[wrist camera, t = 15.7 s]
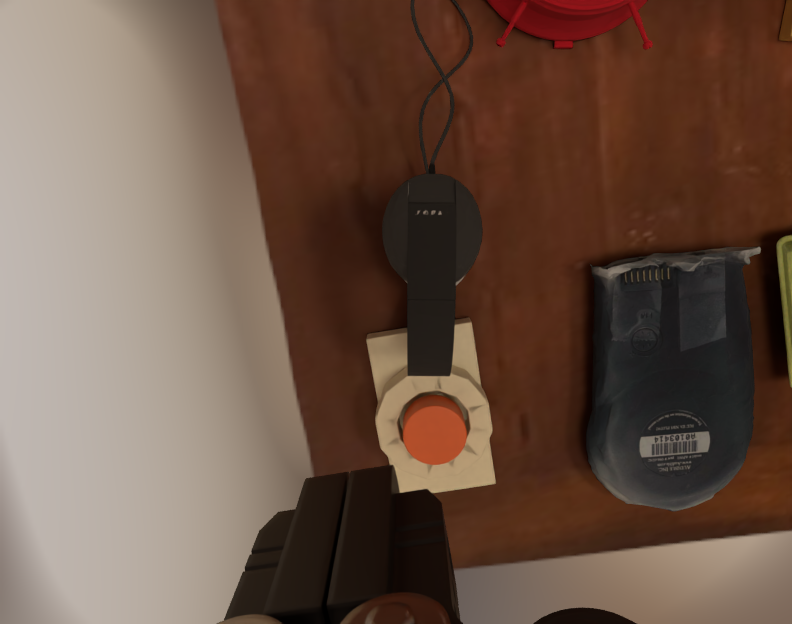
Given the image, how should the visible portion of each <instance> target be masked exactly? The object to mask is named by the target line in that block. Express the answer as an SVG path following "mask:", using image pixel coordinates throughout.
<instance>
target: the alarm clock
mask: <svg viewBox="0 0 792 624" xmlns="http://www.w3.org/2000/svg"><path fill="white" fill-rule="evenodd" d="M487 1H488V2H489V4H490V5H491V6H492V7H493V8H494V10H495V11H496V12H497V13H498V14H499V15H500V16H501V17H502V18H504V19H505V20H506V21H507V22H509V23H510V24H509V25H508V27H507V29H506V31H505V32H504V34H503V36H502V37H501V38H498V39H497V41H496V44H497V45H498V46H499V47H503V46H504V45H505V43H506V42H505V39H506V38H507V36H508V34H509V33H510V31H511V30H512V28H513V27H514V26H515V27H516V28H518V29H519V30H522V31H524V32H526V33H528V34H530V35H533V36H536V37H539V38H543V39H548V40H555V46H554V48H553V49H571V48H573V41H575V40H582V39H586V38H591V37H594V36H597V35H600V34H602V33H605V32H607V31H609V30H611V29H613V28H615V27H616V26H618V25H620V24H621V23H623V22H624V21H625V20H627V19H628V18H630V17H631V16H633V19H634V21H635V23H636V25H637V26H638V29H639V31H640V34H641V36H642V38H643V41H644V44H643V48H644V49H645V50H646V49H648V48H650V47H652V45H653V43H652V41H649V40H648V38H647V35H646V33H645V30H644V27H643V25H642V20H641V17H640V15H639V12H638V10H639V9H640V8H641V7H642V6H643V5H644V4H645V3H646V2H647V1H648V0H487Z"/></svg>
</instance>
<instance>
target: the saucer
mask: <svg viewBox="0 0 792 624" xmlns="http://www.w3.org/2000/svg"><path fill="white" fill-rule="evenodd" d="M776 252H777V261H778V272H779V282H780V292H781V302H782V312H783V322H784V332H785V343H786V353H787V364H788V375H789V383H790V386H791V387H792V235H790V236H785V237H782V238H781V239H779V240H778V242H777V245H776Z"/></svg>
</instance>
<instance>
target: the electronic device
mask: <svg viewBox="0 0 792 624" xmlns="http://www.w3.org/2000/svg"><path fill="white" fill-rule="evenodd" d="M760 251H761V249H760V247H726V248H721V249H709V250H701V251H694V252H684V253H673V254H669V253H653V254H652V255H650V256H644V257H635V258H627V259H623V260H618V261H615V262H612V263H610V264H609V265H606V266H603V267H599V266H592V265H591V264H590V265H591V269H592V276H593V278H594V333H593V335H592V337H593V387H592V413H591V415H590V419H589V422H588V425H587V433H586V449H587V454H588V462H589V463H590V465H591V469H592V471H593V473H594V474H595V475H596V478H597V479H598V480H599V481H600V482H601V483H602V484H603V485H604V486H605V488H606V489H607V490H609V491H610V492H611V493H612V494H613V495H614V496H615V497H617V498H619V499H620V500H623V501H625V503H626V504H629V503H630V504H637V505H646V506H651V507H657V508H663V509H667V510H670V511H678V510H682V509H685V508H689V507H693V506H695V505H698V504H700V503H702V502H704V501H707V500H709V499H711V498H713V496H714V494H715V493H717V492H718V491H719V490H721V489H722V488H724V487H725V486H726V485H727V484H728V483H729V482H730V481H731V480H732V479H733V477H734V476H735V475H736V474H737V472H738V471H739V470H740V468H741V467H742V465H743V463H744V461H745V458H746V453H747V449H748V446H749V442H750V440H751V437H752V430H753V419H754V417H753V408H754V400H753V396H754V391H755V390H754V368H753V350H752V339H751V334H752V332H751V323H750V310H749V307H748V304H747V296H746V288H745V282H744V276H743V271H742V268H743V266H744V265H747V264H750V259H749V257H751V256H753V255H755V254H759V253H760Z"/></svg>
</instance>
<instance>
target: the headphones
mask: <svg viewBox="0 0 792 624" xmlns="http://www.w3.org/2000/svg"><path fill="white" fill-rule="evenodd" d="M452 1H453V3H454V4H455V5H456V7H457V8H458V10H459V11H460V13H461V15H462V17H463V18H464V20H465V22H466V25H467V28H468V31H469V35H470V45H469V49H468V51H467V53H466V55H465V57H464V58H463V59H462V60H461V61H460V62H459V63H458V64H457V65H456V66H455V67H454V68H453V69H452V70H451V71H450V72H449V73H448V74H447V75H446V76H445V75H444V73H443V71H442V69H441V68H440V66H439V65H438V63H437V61H436V60H435V58H434V57H433V55H432V53H431V52H430V50H429V48H428V47H427V45H426V43H425V41H424V39H423V37H422V35H421V33H420V31H419V28H418V25H417V21H416V18H415V10H414V0H411V15H412V20H413V24H414V27H415V30H416V33H417V35H418V37H419V39H420V41H421V43H422V45H423V46H424V48H425V50H426V52H427V53H428V55H429V57H430V58H431V60H432V62H433V63H434V65H435V66H436V68H437V70H438V71H439V73H440V75H441V77H442V79H441V80H440V81H439V82H438V83H437V84H436V85H435V86H434V88H433V89H432V90H431V91H430V93H429V94H428V96H427V98H426V100H425V101H424V104H423V106H422V109H421V113H420V118H419V138H420V146H421V151H422V156H423V160H424V165H425V170H426V174H422V175H418V176H415V177H413V178H411V179H409V180H407V181H406V182H404V183H403V184H402V185H401V186H400V187H399V188H398V189H397V190H396V191H395V193H394V194H393V195H392V197H391V199H390V201H389V203H388V205H387V207H386V211H385V214H384V218H383V224H382V236H383V244H384V248H385V252H386V255H387V258H388V260H389V262H390V264H391V266H392V267H393V268H394V270H395V271H396V273H397V274H398V275H399V276H400V277H401V278H403V279H404V280H405V281H406V282H407V373H408V376H450V374H451V369H452V360H453V347H454V328H455V300H456V285H457V284H458V283H459V282H460V281H461V280H462V279H463V278H464V276H465V275H466V274H467V273H468V271H469V270H470V268H471V267H472V265H473V264H474V262H475V260H476V257H477V255H478V253H479V249H480V245H481V241H482V221H481V216H480V212H479V209H478V205H477V203H476V201H475V199H474V197H473V196H472V194H471V193H470V192H469V190H468V189H467V188H466V187H465V186H464V185H462V184H461V183H460V182H459V181H457V180H456V179H454V178H452V177H450V176H446V175H443V174H435V165H434V162H435V159H436V156H437V153H438V151H439V149H440V147H441V145H442V143H443V141H444V138H445V136H446V134H447V132H448V130H449V127H450V124H451V122H452V118H453V113H454V97H453V93H452V90H451V87H450V85H449V82H448V80H447V79H448V78H449V77H450V76H451V75H452V74H453V73H454V72H455V71H456V70H457V69H458V68H459V67H460V66H462V64H463V63H464V62H465V61H466V59H467V58H468V56H469V54H470V52H471V50H472V46H473V35H472V31H471V27H470V25H469V23H468V21H467V18H466V16H465V14H464V13H463V11H462V10H461V8H460V7H459V5H458V4H457V2H456V1H455V0H452ZM443 82H445V85H446V87H447V90H448V92H449V94H450V106H451V109H450V115H449V119H448V122H447V125H446V127H445V129H444V132H443V134H442V136H441V138H440V140H439V142H438V144H437V147H436V149H435V151H434V154H433V156H432V159H431V163H430V165H429V169H428V164H427V159H426V154H425V148H424V143H423V137H422V121H423V115H424V110H425V107H426V105H427V103H428V101H429V99H430V97H431V96H432V94H433V93H434V92H435V91H436V90H437V88H438V87H439V86H440V85H441V84H442V83H443Z"/></svg>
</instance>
